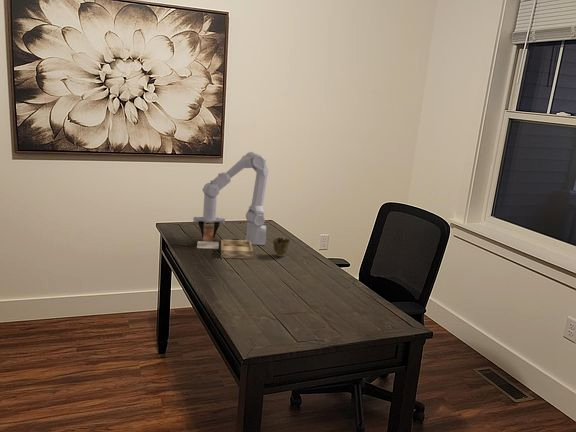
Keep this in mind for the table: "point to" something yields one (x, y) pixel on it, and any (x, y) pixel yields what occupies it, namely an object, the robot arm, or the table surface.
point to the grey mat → (208, 245)
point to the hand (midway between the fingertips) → (208, 237)
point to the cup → (281, 246)
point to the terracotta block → (208, 233)
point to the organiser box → (236, 249)
